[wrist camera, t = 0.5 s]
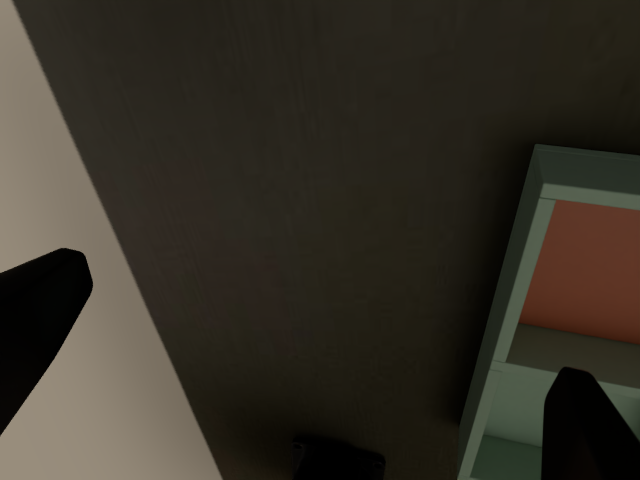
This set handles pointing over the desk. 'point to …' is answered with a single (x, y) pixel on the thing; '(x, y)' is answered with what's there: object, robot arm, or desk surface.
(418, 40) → the desk surface
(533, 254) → the divided box
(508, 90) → the desk surface
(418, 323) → the desk surface
